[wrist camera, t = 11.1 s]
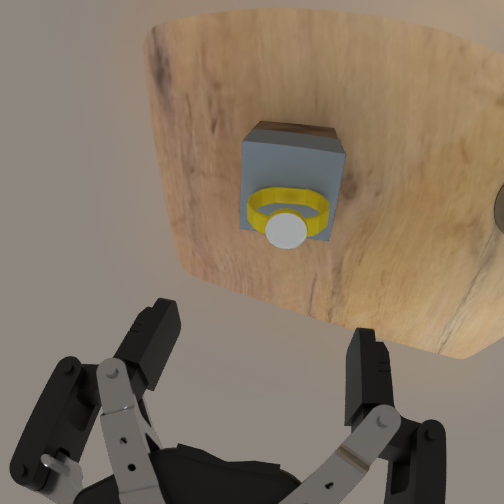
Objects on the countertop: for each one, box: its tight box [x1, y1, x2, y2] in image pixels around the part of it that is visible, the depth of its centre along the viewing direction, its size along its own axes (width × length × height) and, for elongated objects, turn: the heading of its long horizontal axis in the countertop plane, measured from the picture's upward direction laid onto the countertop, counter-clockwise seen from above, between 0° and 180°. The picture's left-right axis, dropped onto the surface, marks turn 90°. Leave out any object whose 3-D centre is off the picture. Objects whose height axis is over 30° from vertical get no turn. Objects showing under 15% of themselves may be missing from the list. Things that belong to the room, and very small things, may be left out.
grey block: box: [240, 129, 346, 241], centre depth 26 cm, size 8×8×5 cm
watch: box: [247, 186, 330, 249], centre depth 21 cm, size 6×3×6 cm, turn 91°
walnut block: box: [252, 121, 338, 139], centre depth 30 cm, size 8×8×5 cm
